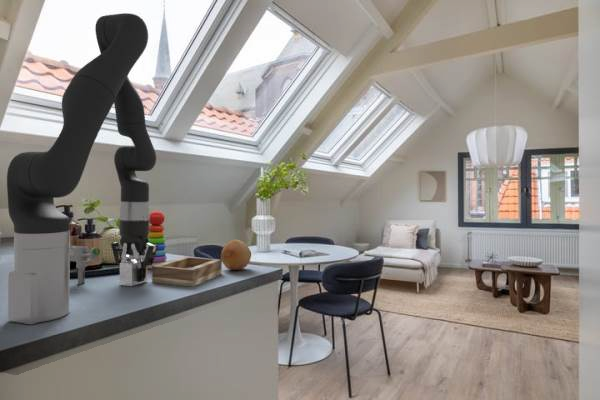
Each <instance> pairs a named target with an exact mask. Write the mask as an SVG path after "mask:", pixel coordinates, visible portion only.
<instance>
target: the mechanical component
mask: <svg viewBox="0 0 600 400" xmlns="http://www.w3.org/2000/svg"><path fill="white" fill-rule="evenodd" d="M100 253H101V250H100V248H98V247H91V248H90V249H89V247H88V246H86V245H85V246H84V245H70V262H75V263H76V266H75V268H76V269H77V285H82V284H85V283H86V282H85V280H86V279H85V277H86V275H85V274H86V273H85V272H86V270H85V269H86V267H88V265H87V263H90V262H95V261H98V260H99V257H100ZM88 257H90V258H88Z"/></svg>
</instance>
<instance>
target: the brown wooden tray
mask: <svg viewBox="0 0 600 400" xmlns="http://www.w3.org/2000/svg"><path fill="white" fill-rule="evenodd" d="M222 264H223V262H222V260H221V258H220V259H218V258H206V257H194V256H193V257H192V256H183V257H180V258H176V259H173V260H169V261H167V262H165V263H162V264H158V265H155V266H152V271H151V274H152V275H151V283H156V284H164V285H165V284H166V285H173V286H175V285H176V286H185V287H195V286H197V285H200V284H202V283H205V282H207V281H209V280H211V279H213V278H216V277H218V276H220V275H222V270H223V269H222V268H223V267H222V266H223V265H222Z"/></svg>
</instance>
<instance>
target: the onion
mask: <svg viewBox="0 0 600 400" xmlns="http://www.w3.org/2000/svg"><path fill="white" fill-rule="evenodd" d="M251 258H252V252H251V249H250V247H249V246H248V245H247V244H246V243H245V242H243V241H242V240H239V239H232V240H230V241H229V242H227V243H226V244H225V245H224V247H223V248H222V249H221V254H220V260H222V264H223V265H224V266H225V268H226V269H228V270H237V271H240V270H243V269H244V268H246V267H247V266H248V265H249V263H250V262H251Z"/></svg>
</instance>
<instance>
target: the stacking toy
mask: <svg viewBox="0 0 600 400" xmlns="http://www.w3.org/2000/svg"><path fill="white" fill-rule="evenodd" d="M165 218H166V217H165V215H164V213H163V212H162V211H159V210H155V211H151V212H150V220H149V235H148V240H149V243H150V244H152V245H157V246H158V248H157V251H156V255H155V258H154V261H153V264H152V265H149V266H148V269H152V266H155V265H158V264H162V263H165V262H168V261H167V255H166V254H167V250H166V247H167V246H166V243H165V242H166V238H165V237H164V236H165V232H164V230H165V227H164V225H162V224H164V222H165ZM150 224H151V225H150ZM146 249H147V248H146ZM146 253H147V251H146ZM148 269H147V270H148Z"/></svg>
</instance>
